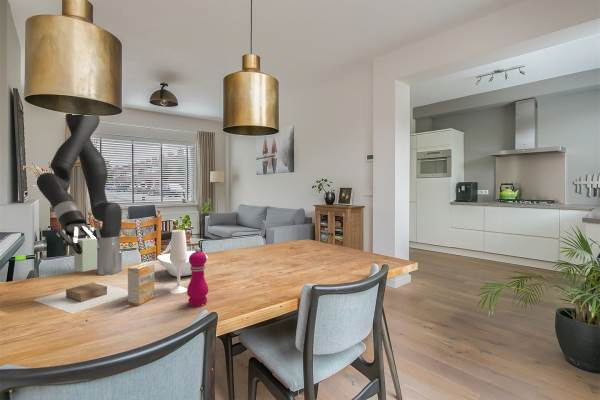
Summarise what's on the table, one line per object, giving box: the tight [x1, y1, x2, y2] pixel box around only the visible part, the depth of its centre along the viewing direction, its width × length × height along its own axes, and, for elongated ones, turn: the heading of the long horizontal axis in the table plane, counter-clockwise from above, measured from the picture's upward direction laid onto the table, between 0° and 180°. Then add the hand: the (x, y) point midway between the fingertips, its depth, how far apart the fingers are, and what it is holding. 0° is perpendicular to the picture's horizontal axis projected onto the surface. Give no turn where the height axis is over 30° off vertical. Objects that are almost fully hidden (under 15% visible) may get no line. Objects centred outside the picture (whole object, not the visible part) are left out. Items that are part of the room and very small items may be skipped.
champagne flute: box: [169, 229, 188, 295], centre depth 121 cm, size 7×7×24 cm
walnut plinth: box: [65, 282, 107, 302], centre depth 111 cm, size 9×9×3 cm
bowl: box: [157, 250, 209, 278], centre depth 144 cm, size 21×21×9 cm
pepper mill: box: [186, 247, 209, 307], centre depth 109 cm, size 7×7×20 cm
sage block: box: [73, 238, 97, 273], centre depth 111 cm, size 5×5×11 cm
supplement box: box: [127, 262, 155, 306], centre depth 110 cm, size 8×5×13 cm, turn 168°
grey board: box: [33, 282, 128, 315], centre depth 112 cm, size 22×24×1 cm
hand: (89, 251), depth 110 cm, fingers closed on sage block, 5 cm apart
